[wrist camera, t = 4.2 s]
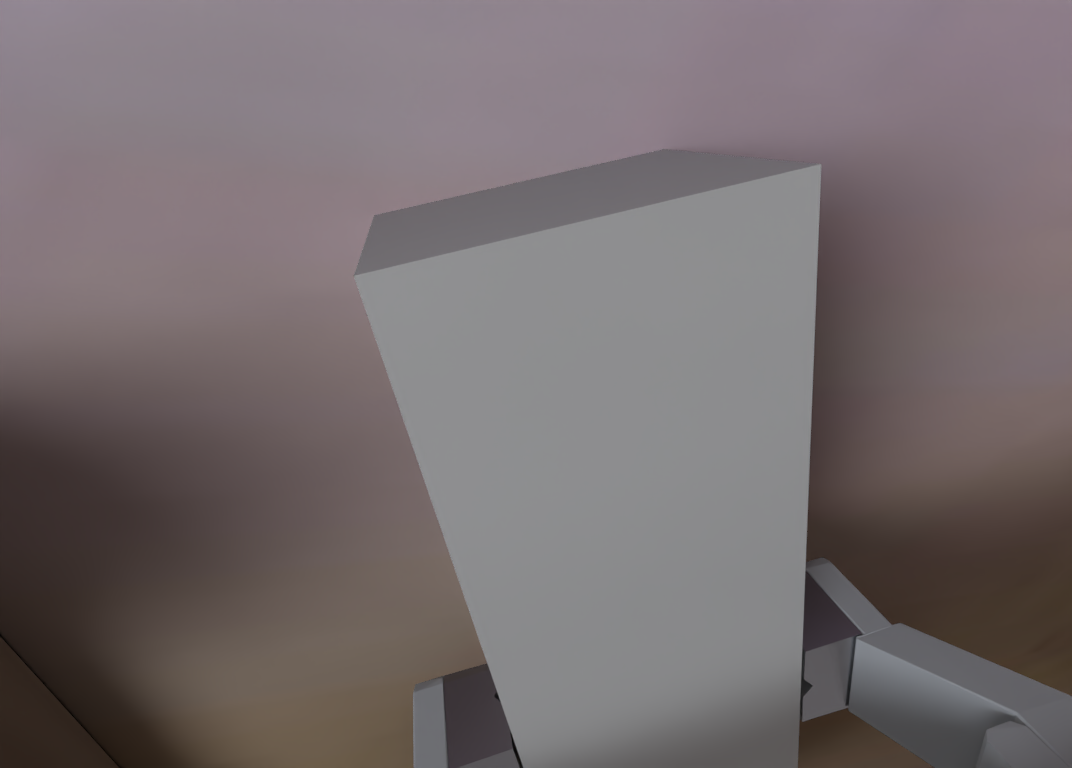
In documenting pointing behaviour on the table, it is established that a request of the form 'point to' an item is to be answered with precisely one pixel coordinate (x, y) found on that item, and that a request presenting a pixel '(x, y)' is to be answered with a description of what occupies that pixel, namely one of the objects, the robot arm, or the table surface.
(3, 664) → the brown notched tray
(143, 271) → the table surface
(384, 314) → the long white rectangular block
